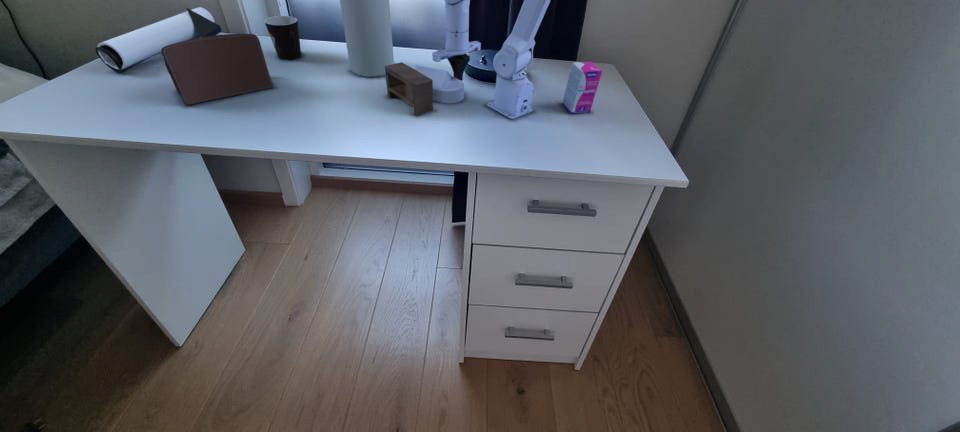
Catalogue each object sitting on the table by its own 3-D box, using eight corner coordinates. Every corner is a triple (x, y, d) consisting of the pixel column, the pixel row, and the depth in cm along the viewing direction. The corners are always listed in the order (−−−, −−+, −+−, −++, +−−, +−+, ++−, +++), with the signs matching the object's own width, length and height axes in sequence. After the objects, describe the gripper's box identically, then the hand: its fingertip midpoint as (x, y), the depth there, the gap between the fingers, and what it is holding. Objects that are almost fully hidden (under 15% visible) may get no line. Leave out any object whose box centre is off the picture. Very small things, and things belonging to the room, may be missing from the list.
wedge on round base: (410, 96, 104) (457, 105, 102) (409, 71, 99) (458, 80, 97) (423, 83, 110) (467, 92, 108) (423, 59, 106) (469, 67, 104)
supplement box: (571, 114, 102) (581, 71, 95) (561, 104, 106) (571, 61, 99) (590, 113, 104) (603, 70, 96) (580, 102, 108) (591, 60, 100)
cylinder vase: (373, 81, 109) (361, -22, 92) (341, 69, 113) (323, -31, 97) (403, 68, 117) (397, -29, 100) (371, 57, 121) (360, -38, 105)
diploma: (122, 87, 104) (143, 61, 97) (86, 56, 99) (106, 26, 93) (213, 44, 130) (234, 21, 123) (187, 17, 125) (208, -8, 119)
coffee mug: (275, 51, 120) (265, 16, 113) (305, 50, 122) (297, 15, 116) (272, 66, 112) (261, 29, 105) (304, 64, 114) (296, 28, 107)
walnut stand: (433, 110, 99) (432, 79, 93) (416, 116, 96) (415, 84, 91) (403, 91, 105) (401, 61, 100) (387, 96, 103) (384, 66, 97)
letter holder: (274, 88, 102) (257, 30, 93) (186, 106, 92) (157, 44, 82) (261, 74, 107) (244, 19, 98) (176, 90, 97) (148, 30, 88)
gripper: (468, 20, 104) (468, 71, 113) (423, 30, 96) (426, 84, 105) (486, 27, 100) (484, 79, 109) (441, 38, 93) (443, 93, 102)
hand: (457, 82), depth 107 cm, fingers closed, pressing on wedge on round base
